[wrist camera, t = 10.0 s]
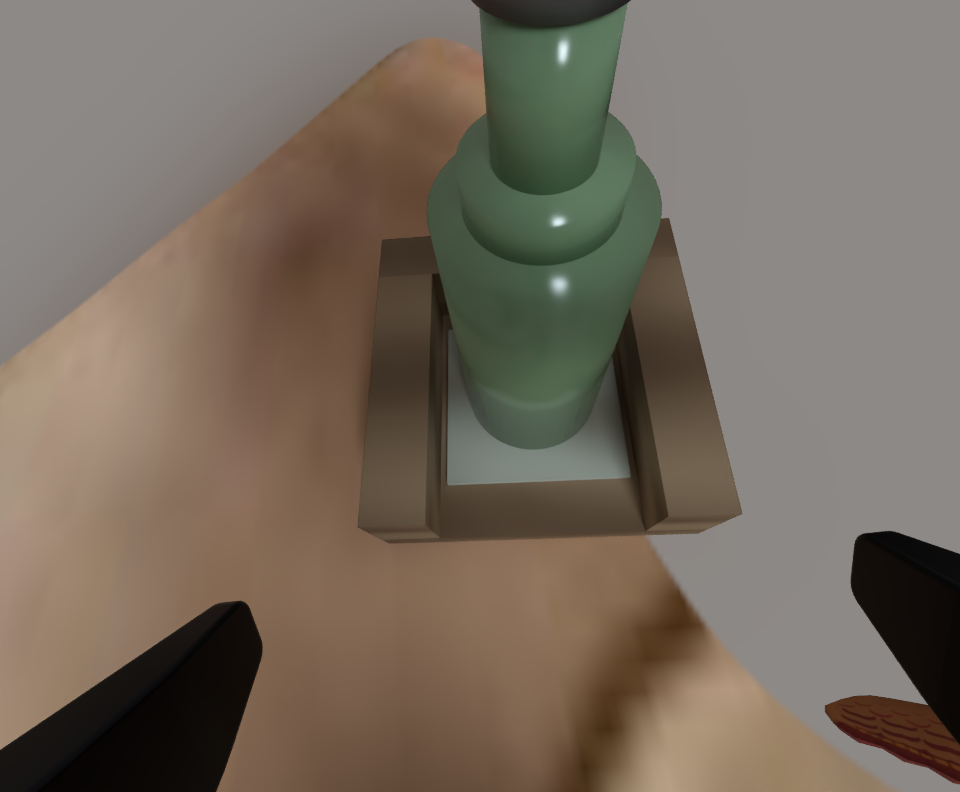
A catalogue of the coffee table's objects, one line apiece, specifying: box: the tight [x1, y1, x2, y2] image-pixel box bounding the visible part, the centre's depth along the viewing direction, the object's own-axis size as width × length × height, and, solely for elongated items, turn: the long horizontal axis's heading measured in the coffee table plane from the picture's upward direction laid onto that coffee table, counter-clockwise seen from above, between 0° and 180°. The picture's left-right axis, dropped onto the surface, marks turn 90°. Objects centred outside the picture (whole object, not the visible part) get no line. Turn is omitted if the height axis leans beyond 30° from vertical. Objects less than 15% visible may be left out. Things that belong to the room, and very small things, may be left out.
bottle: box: [427, 0, 662, 450], centre depth 13 cm, size 5×5×15 cm
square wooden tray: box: [358, 218, 742, 543], centre depth 19 cm, size 12×12×4 cm
